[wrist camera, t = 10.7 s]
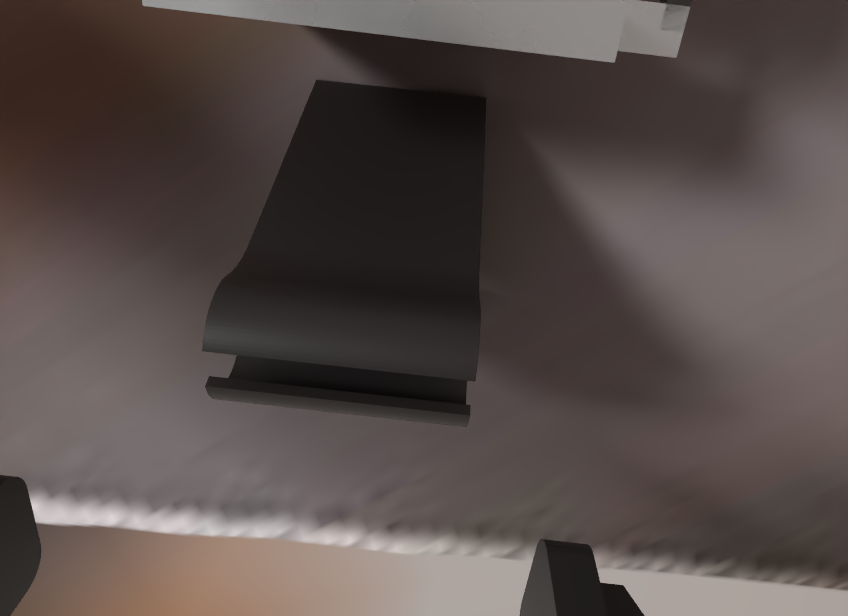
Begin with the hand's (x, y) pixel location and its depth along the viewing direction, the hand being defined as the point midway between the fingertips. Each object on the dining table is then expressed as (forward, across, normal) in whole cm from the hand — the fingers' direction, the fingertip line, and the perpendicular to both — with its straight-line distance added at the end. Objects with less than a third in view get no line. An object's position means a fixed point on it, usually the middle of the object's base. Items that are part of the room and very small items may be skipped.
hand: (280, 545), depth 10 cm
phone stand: (+17, 0, 0) cm, 17 cm away
